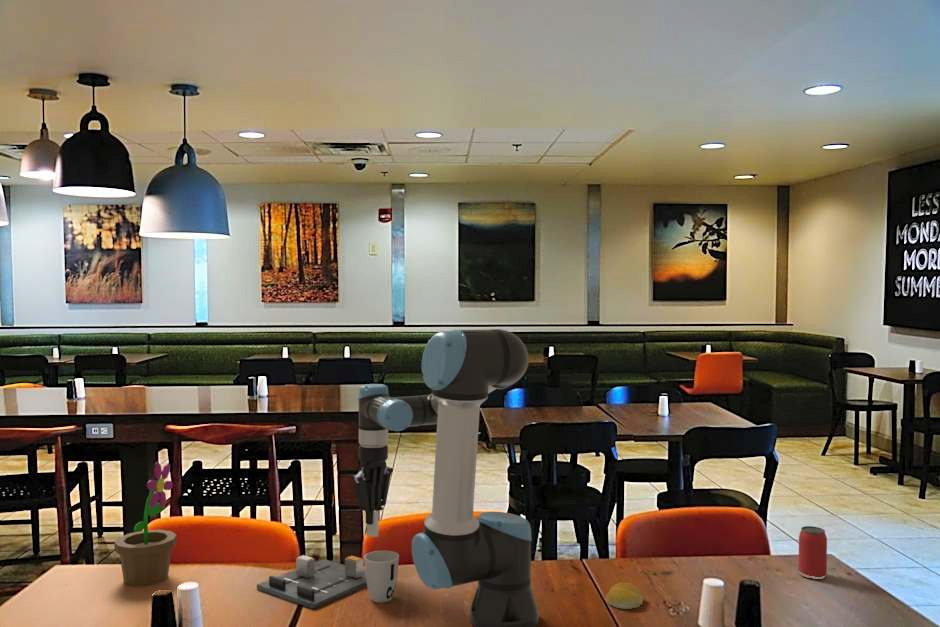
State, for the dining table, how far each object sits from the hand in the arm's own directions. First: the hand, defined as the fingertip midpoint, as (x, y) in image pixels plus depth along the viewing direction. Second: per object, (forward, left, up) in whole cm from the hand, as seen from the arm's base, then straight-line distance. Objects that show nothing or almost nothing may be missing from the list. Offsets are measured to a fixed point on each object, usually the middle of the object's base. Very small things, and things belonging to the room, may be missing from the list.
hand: (372, 535), depth 196 cm
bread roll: (-60, -21, -10) cm, 65 cm away
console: (+5, +14, -10) cm, 18 cm away
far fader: (+10, +14, -8) cm, 19 cm away
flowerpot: (+43, +37, -10) cm, 57 cm away
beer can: (-92, -65, -10) cm, 113 cm away
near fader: (0, +7, -8) cm, 11 cm away
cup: (-13, +11, -10) cm, 20 cm away
